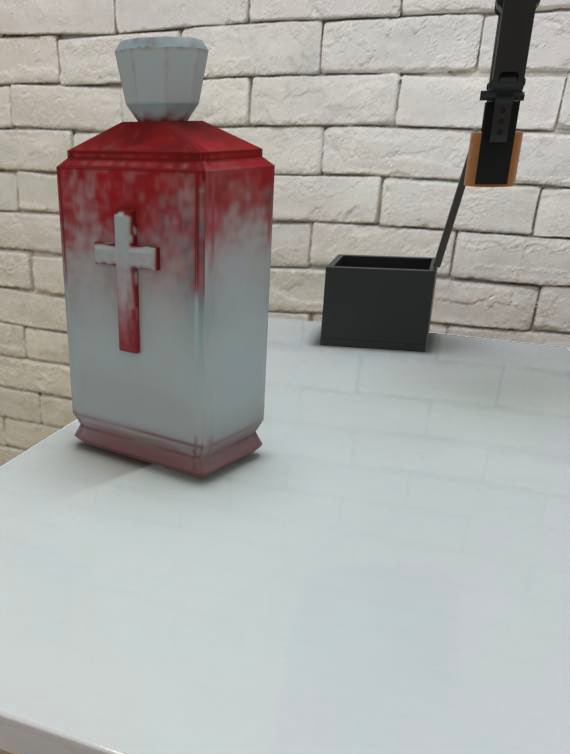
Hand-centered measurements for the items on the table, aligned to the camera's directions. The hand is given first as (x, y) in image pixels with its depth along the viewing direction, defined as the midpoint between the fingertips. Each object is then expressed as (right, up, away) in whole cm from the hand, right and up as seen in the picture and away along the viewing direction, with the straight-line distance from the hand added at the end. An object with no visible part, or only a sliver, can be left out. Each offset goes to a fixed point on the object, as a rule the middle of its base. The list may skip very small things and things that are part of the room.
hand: (490, 181), depth 75 cm
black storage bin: (-3, -7, +29) cm, 30 cm away
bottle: (-30, -25, -5) cm, 39 cm away
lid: (+4, +7, +20) cm, 21 cm away
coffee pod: (0, 0, 0) cm, 0 cm away
